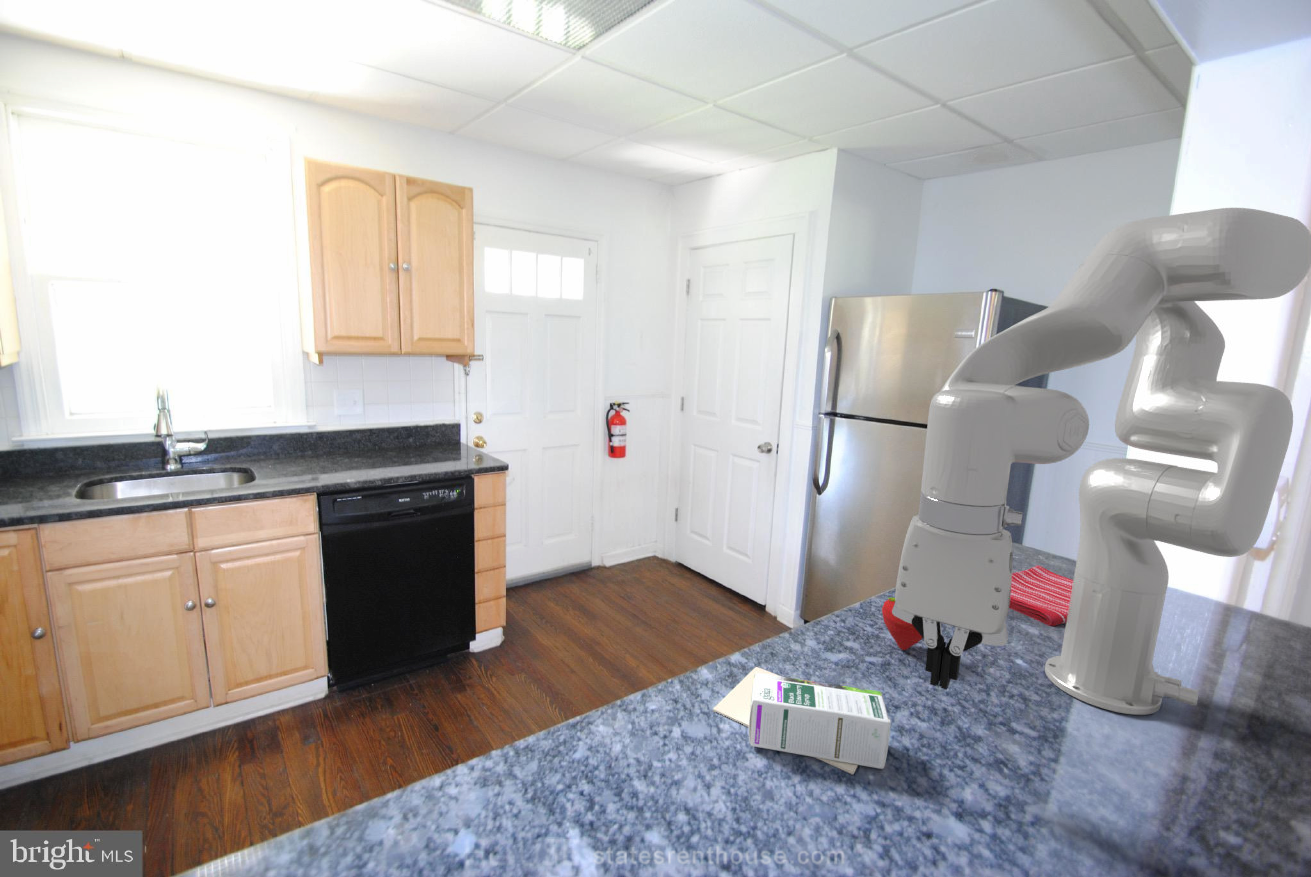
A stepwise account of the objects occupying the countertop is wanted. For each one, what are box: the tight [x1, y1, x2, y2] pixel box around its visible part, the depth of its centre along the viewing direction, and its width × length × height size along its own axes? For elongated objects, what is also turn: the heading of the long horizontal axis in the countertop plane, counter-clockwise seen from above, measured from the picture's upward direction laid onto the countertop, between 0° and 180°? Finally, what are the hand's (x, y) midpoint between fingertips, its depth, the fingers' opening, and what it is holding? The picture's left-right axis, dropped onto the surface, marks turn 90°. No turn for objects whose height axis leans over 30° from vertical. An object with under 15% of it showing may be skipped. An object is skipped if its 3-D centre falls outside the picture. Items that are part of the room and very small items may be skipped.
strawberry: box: [881, 597, 924, 651], centre depth 86 cm, size 6×8×10 cm
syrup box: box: [748, 673, 892, 770], centre depth 65 cm, size 6×6×14 cm
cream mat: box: [712, 666, 859, 775], centre depth 70 cm, size 17×12×1 cm
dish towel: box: [1009, 565, 1074, 627], centre depth 108 cm, size 17×24×3 cm
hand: (940, 680), depth 61 cm, fingers closed
